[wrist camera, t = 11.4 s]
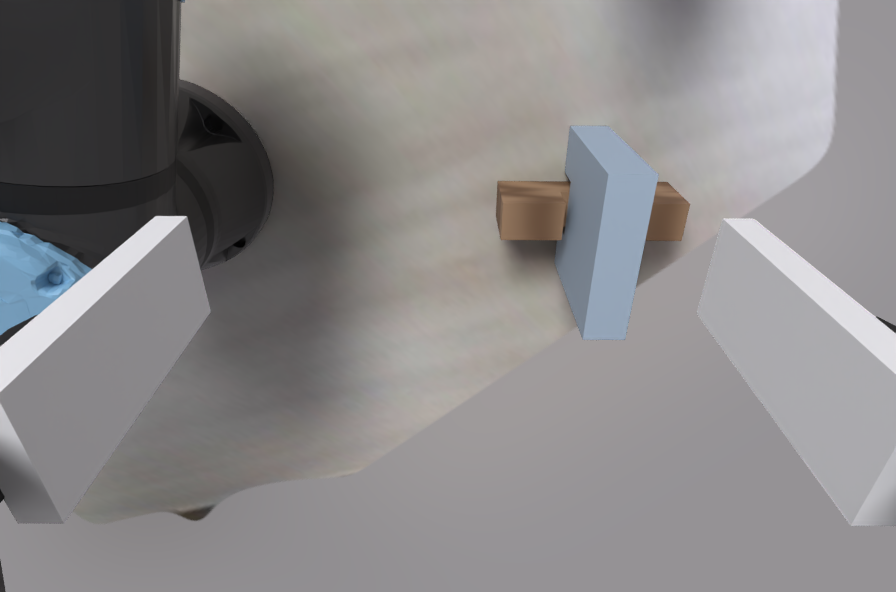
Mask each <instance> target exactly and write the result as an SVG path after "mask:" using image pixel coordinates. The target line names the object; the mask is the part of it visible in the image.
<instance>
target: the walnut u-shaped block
mask: <svg viewBox="0 0 896 592" xmlns="http://www.w3.org/2000/svg"><path fill="white" fill-rule="evenodd" d="M570 184H571V182H539V181H498V186H497V205H496V218H497V223H498V228H499V233H500V238H501V240H562V232H563V227H565V225H566V217H567V208H568V200H569V192H570ZM689 207H690V203H688V202H687V201H686V200H685V199H684V198H683V197H682V196H681V195H680V194H679V193H678V192H677V191H676V190H675V189H674V188H673V187H672V186H671V185H670V184H669V183H668V182H657V185H656V190H655V195H654V200H653V205H652V210H651V215H650V220H649V225H648V230H647V235H646V240H645V241H681V240H682V236H683V232H684V228H685V224H686V219H687V215H688V211H689Z"/></svg>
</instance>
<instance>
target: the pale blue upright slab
mask: <svg viewBox="0 0 896 592" xmlns="http://www.w3.org/2000/svg"><path fill="white" fill-rule="evenodd" d="M565 173H566V175H567V176H568V178H569V180H570V182H571V184H570V192H569V200H568V208H567V217H566V225H565V227H563V232H562V240H557V245H556V253H555V262H554V263H555V265H556V268H557V271H558V274H559V276H560V279H561V282H562V285H563V287H564V290H565V293H566V295H567V298H568V301H569V304H570V306H571V309H572V312H573V315H574V317H575V320H576V323H577V326H578V328H579V331H580V334H581V336H582V339H583V340H625V338H626V333H627V328H628V323H629V318H630V313H631V308H632V303H633V298H634V294H635V289H636V284H637V279H638V274H639V269H640V264H641V259H642V254H643V249H644V244H645V240H646V235H647V230H648V225H649V220H650V215H651V210H652V205H653V200H654V195H655V190H656V185H657V181H658V176H659V174H658V173H656V172H655V171H654V170H653V169H652V168H651V167H650V166H649V165H648V164H647V163H646V162H645V161H644V160H643V159H642V158H641V157H640V156H639V155H638V154H637V153H636V152H635V151H634V150H633V149H632V148H631V147H630V146H629V145H627V144H626V143H625V142H624V141H623V140H622V139H621V138H620V137H619V136H618V135H617V134H616V133H615V132H614V131H613V130H612V129H611V128H610V127H609V126H570V131H569V140H568V149H567V157H566V166H565Z"/></svg>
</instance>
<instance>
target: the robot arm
mask: <svg viewBox="0 0 896 592" xmlns="http://www.w3.org/2000/svg"><path fill="white" fill-rule="evenodd" d="M181 2H183V3H185V0H0V502H1V501H2V500H3V499H4V501H5V502H6V504H7V506H8V507H9V509H10V511H11V513H12V514H13V516H14V518H15V519H16V521H17V523H65V521H66V520H67V518H68V517H69V515H70V514H71V513H72V511H73V510H74V508H75V507H76V505H77V504H78V503H79V501H80V500H81V498H82V497H83V495H84V494H85V492H86V491H87V490H88V488H89V487H90V485H91V484H92V482H93V481H94V480H95V478H96V477H97V475H98V474H99V472H100V471H101V469H102V468H103V467H104V465H105V464H106V462H107V461H108V459H109V458H110V456H111V455H112V454H113V452H114V451H115V449H116V448H117V446H118V445H119V443H120V442H121V441H122V439H123V438H124V436H125V435H126V433H127V432H128V431H129V429H130V428H131V426H132V425H133V423H134V422H135V420H136V419H137V418H138V416H139V415H140V413H141V412H142V410H143V409H144V407H145V406H146V405H147V403H148V402H149V400H150V399H151V397H152V396H153V395H154V393H155V392H156V390H157V389H158V387H159V386H160V384H161V383H162V382H163V380H164V379H165V377H166V376H167V374H168V373H169V371H170V370H171V369H172V367H173V366H174V364H175V363H176V361H177V360H178V358H179V357H180V356H181V354H182V353H183V351H184V350H185V348H186V347H187V346H188V344H189V343H190V341H191V340H192V338H193V337H194V335H195V334H196V333H197V331H198V330H199V328H200V327H201V325H202V324H203V322H204V321H205V320H206V318H207V317H208V315H209V314H210V312H211V310H210V306H209V302H208V298H207V294H206V290H205V286H204V282H203V278H202V274H201V270H204V269H207V268H209V267H212V266H215V265H218V264H220V263H223V262H225V261H227V260H229V259H231V258H233V257H234V256H236V255H237V254H239V253H240V252H241V251H243V250H244V249H245V248H246V247H247V246H248V245H249V244H250V243H251V242H252V241H253V239H254V238H255V237H256V235H257V234H258V233H259V231H260V230H261V228H262V227H263V225H264V224H265V222H266V220H267V218H268V215H269V213H270V209H271V205H272V200H273V177H272V171H271V167H270V163H269V160H268V157H267V154H266V152H265V150H264V147H263V146H262V144H261V142H260V140H259V138H258V137H257V135H256V133H255V132H254V131H253V129H252V128H251V126H250V125H249V124H248V123H247V121H246V120H245V119H244V118H243V117H242V116H241V115H240V114H239V113H238V112H237V111H236V110H235V109H234V108H233V107H232V106H230V105H229V104H228V103H227V102H225V101H224V100H223V99H221V98H220V97H218V96H217V95H215V94H214V93H212V92H210V91H208V90H206V89H204V88H202V87H200V86H198V85H195V84H193V83H190V82H187V81H184V80H180V79H179V69H180V31H181ZM697 314H698V316H699V317H700V319H701V320H702V322H703V323H704V324H705V326H706V327H707V329H708V330H709V331H710V333H711V334H712V336H713V337H714V338H715V340H716V341H717V342H718V344H719V345H720V347H721V348H722V349H723V351H724V352H725V353H726V355H727V356H728V357H729V359H730V360H731V362H732V363H733V364H734V366H735V367H736V369H737V370H738V371H739V373H740V374H741V375H742V377H743V378H744V380H745V381H746V382H747V384H748V385H749V386H750V388H751V389H752V391H753V392H754V393H755V395H756V396H757V397H758V399H759V400H760V401H761V403H762V404H763V405H764V407H765V408H766V410H767V411H768V413H769V414H770V415H771V417H772V418H773V419H774V421H775V422H776V424H777V425H778V426H779V428H780V429H781V431H782V432H783V433H784V434H785V436H786V437H787V439H788V440H789V441H790V443H791V444H792V445H793V447H794V448H795V450H796V451H797V453H798V454H799V455H800V456H801V458H802V459H803V461H804V462H805V464H806V465H807V466H808V468H809V469H810V470H811V472H812V473H813V474H814V476H815V477H816V479H817V480H818V481H819V483H820V484H821V486H822V487H823V488H824V490H825V491H826V492H827V494H828V495H829V497H830V498H831V499H832V501H833V502H834V503H835V505H836V506H837V508H838V509H839V510H840V512H841V513H842V514H843V516H844V517H845V518H846V520H847V521H848V523H849V524H850V525H851V526H896V326H895V325H893V324H891V323H889V322H887V321H885V320H883V319H881V318H879V317H875V316H873V315H872V314H871V313H870V312H868V311H867V310H866V309H865V308H864V307H862V306H861V305H860V304H858V303H857V302H856V301H855V300H854V299H852V298H851V297H850V296H849V295H848V294H846V293H845V292H844V291H843V290H841V289H840V288H839V287H837V286H836V285H835V284H834V283H832V282H831V281H830V280H829V279H828V278H826V277H825V276H824V275H823V274H822V273H820V272H819V271H818V270H816V269H815V268H814V267H813V266H812V265H810V264H809V263H808V262H807V261H805V260H804V259H803V258H802V257H800V256H799V255H798V254H797V253H796V252H794V251H793V250H792V249H791V248H789V247H788V246H787V245H786V244H784V243H783V242H782V241H781V240H780V239H778V238H777V237H776V236H775V235H773V234H772V233H771V232H770V231H768V230H767V229H766V228H765V227H763V226H762V225H761V224H760V223H759V222H757V221H756V220H755V219H723V220H722V223H721V227H720V231H719V234H718V238H717V241H716V245H715V249H714V252H713V256H712V260H711V263H710V267H709V271H708V274H707V278H706V282H705V285H704V289H703V292H702V296H701V300H700V303H699V307H698V311H697ZM0 592H5V586H4V580H3V574H2V568H1V561H0Z"/></svg>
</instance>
